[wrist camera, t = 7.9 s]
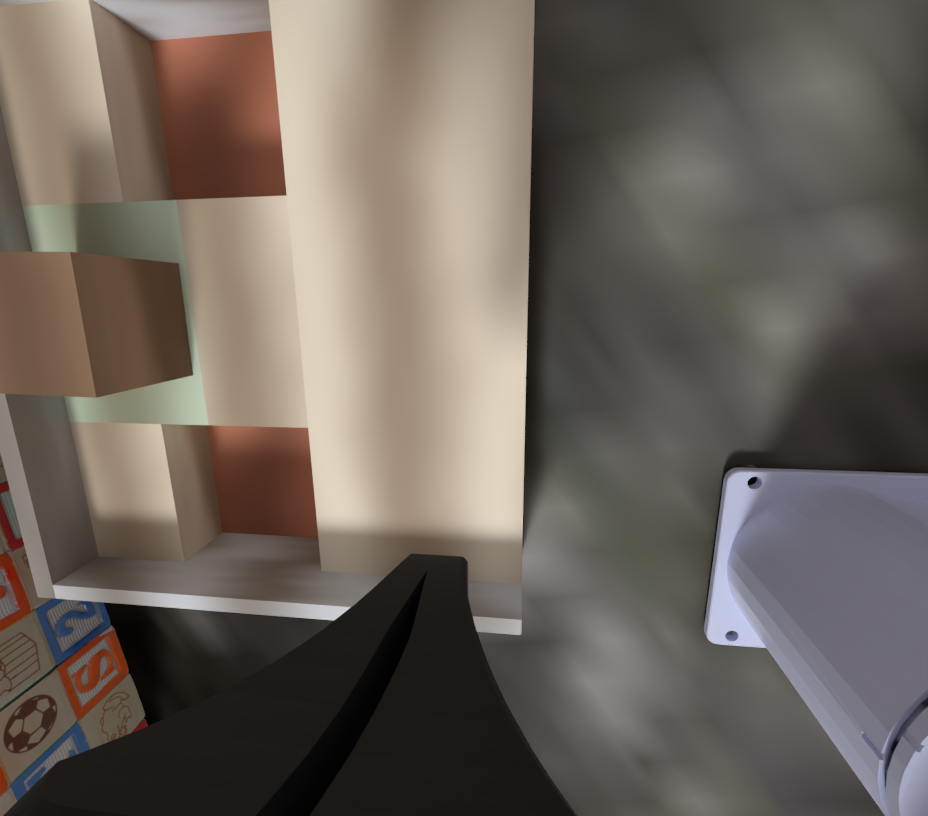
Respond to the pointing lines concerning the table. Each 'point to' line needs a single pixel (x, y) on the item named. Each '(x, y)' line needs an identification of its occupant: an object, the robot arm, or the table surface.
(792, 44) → the table surface
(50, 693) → the stack of blocks
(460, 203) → the board
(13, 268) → the walnut block
